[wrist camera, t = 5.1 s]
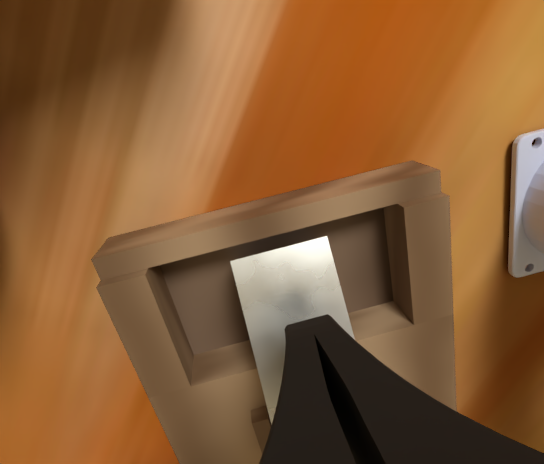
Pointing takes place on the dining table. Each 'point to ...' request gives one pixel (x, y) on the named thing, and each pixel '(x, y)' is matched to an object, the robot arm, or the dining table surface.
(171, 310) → the board
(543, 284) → the dining table surface
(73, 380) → the dining table surface
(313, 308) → the bar
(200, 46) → the dining table surface
